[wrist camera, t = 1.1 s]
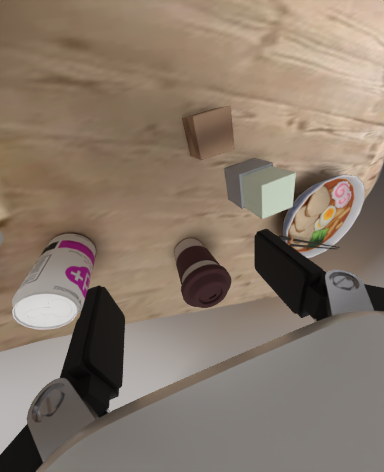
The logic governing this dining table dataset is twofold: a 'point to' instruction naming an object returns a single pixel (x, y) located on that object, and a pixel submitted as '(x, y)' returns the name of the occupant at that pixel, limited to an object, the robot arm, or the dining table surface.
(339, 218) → the ramen bowl
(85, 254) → the supplement can
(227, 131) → the walnut cube
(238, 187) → the tower base
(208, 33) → the dining table surface
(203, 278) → the coffee cup
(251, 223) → the dining table surface
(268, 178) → the tower mid
